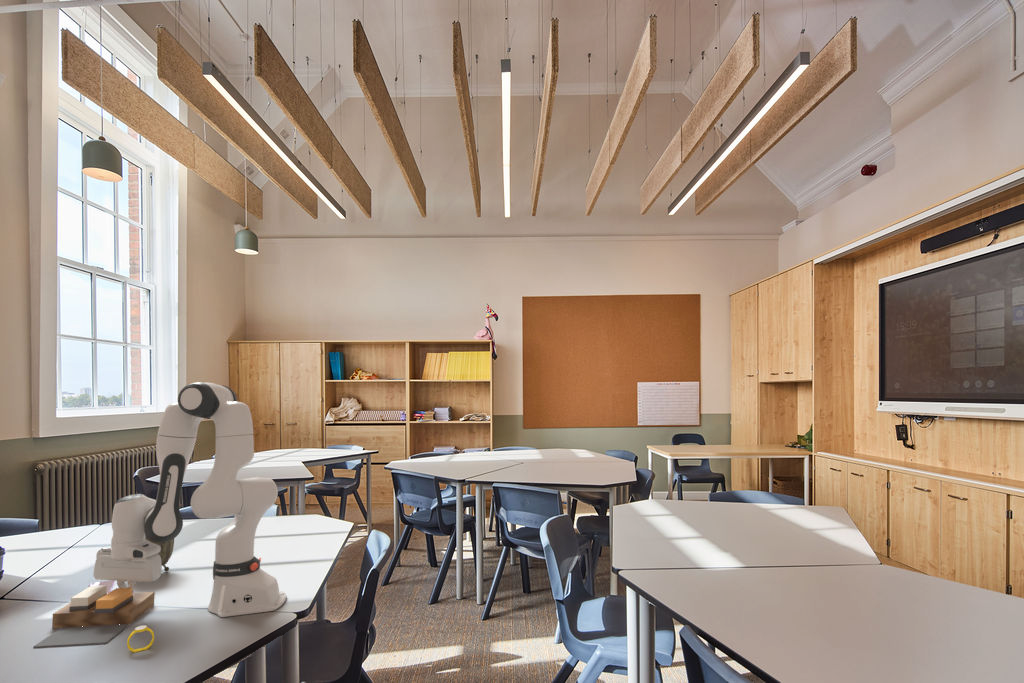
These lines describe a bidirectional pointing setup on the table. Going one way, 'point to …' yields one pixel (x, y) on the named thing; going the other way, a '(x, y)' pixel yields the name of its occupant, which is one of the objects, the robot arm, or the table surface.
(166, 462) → the robot arm
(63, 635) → the mat
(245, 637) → the table surface
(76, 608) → the block
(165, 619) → the table surface
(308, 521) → the table surface
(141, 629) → the watch
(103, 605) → the eraser orange
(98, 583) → the mobile phone
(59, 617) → the riser
